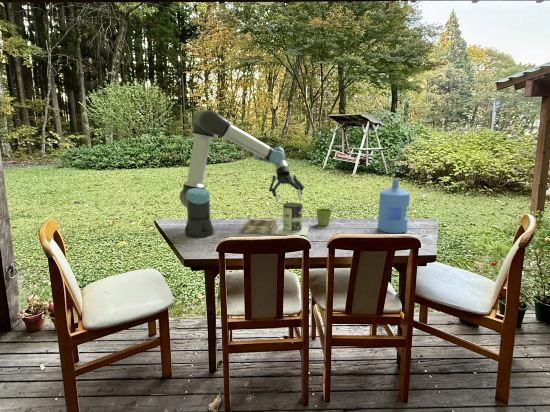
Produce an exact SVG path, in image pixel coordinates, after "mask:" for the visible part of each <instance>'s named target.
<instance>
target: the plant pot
mask: <svg viewBox="0 0 550 412" xmlns="http://www.w3.org/2000/svg"><path fill="white" fill-rule="evenodd" d="M315 212H316V219H317V225H318V226H321V227H323V226H324V227H325V226H329V225H330V220H331V214H332V212H333V210H332V209H330V208H316V209H315Z"/></svg>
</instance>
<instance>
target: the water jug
mask: <svg viewBox="0 0 550 412" xmlns="http://www.w3.org/2000/svg"><path fill="white" fill-rule="evenodd" d="M399 184H400V183H399V179H392V185H391V187H389V188H386V189H384V190H381V191H380V192H379V198H378V199H379V204H378V217H377V218H378V221H377V229H378V230H379V231H381V232H383V233H386V232H387V233H388V234H403V232H404V233H406V232H407V231H408V220H409V219H408V218H407V210H408V209H407V208H408V207H409V206H410V200H411V199H410V198H411V197H410V193H409V192H408V191H406V190H404V189H402V188H400V187H399Z"/></svg>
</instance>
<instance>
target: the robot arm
mask: <svg viewBox="0 0 550 412" xmlns="http://www.w3.org/2000/svg"><path fill="white" fill-rule="evenodd" d="M191 134H192V136H193V138H194V139H193V144H192V150H191V156H190V163H189V168H188V173H187V180H186V181H184V183H183V185H182V186H183V187H182V190H180V193H179V201H180V203H181V204H182V206H183V207H185V209H186V212H187V213H186V214H187V220H186V225H185V228H184V235H185V236H186V237H190V238H205V237H210V236H212V235H214V234H215V229H214V226H213V223H212V221H211V206H210V205H211V203H210V200H211V197H210V196H211V195H210V192H209V191H208V189H206V187H205V184H204V179H205V178H204V177H205V172H206V167H207V160H208V157H209V150H210V145H211V144H210V143H211V141H212V140H213V139H215V136H218V137H219V138H225V139H227V140H229V141H230V142H233V143H235V144H236V145H238V146H240V147H242V148H244V149H245V150H247V151H248V152H251V153H253V159H254V160H256V161H259V162H266V163H270V164H272V165H274V168H275V172H276V176H275V175H273V176H272V178H271V184H270V186H269V189H268V192H271V193H272V195H273V197H274V199H275V202H276V203H278V202H279V195H278V188H279V186H280V185H281V184H282V185H288V184H289V186H292V188H294V189H295V190H296V191H297V192H296V193H297V196H298V199H299V202H301V201H302V199H303V197H302V196H303V191H304V188H305V187H304V185H303V184H302V183H301V181H300V180H299V179H298V178H297V176H296V175H295V174H294V175H293V176H291V174H290V169H289V165H288V161H287V157H286V152H285V150H284V147H281V146H275V147H271V146H269V145H268V144H266V143H264V142H262V141H261V140H259V139H258V138H255V137H254V136H252V135H250V134H249V133H247V132H245V131H243V130H242V129H240V128H239V127H237V126H235V125H233V124H232V123H231V120H229V119H227V118H225V117H224V116H223V115H221V114H220V113H218V112H216V111H214V110H211V109H210V110H208V109H207V110H199V111H198V112H196V113H195V114H194V116H193V118H192V132H191ZM276 181H277V182H276ZM275 182H276V184H275V185H274V183H275ZM273 186H274V187H273Z"/></svg>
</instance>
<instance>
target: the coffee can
mask: <svg viewBox="0 0 550 412" xmlns="http://www.w3.org/2000/svg"><path fill="white" fill-rule="evenodd" d="M282 207H283V209H282V210H283V219H282V225H283V230H284V231H286V232H299V231H301V230H302V226H303V223H302V221H303V204H302V203H299V202H286V203H283V206H282Z"/></svg>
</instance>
